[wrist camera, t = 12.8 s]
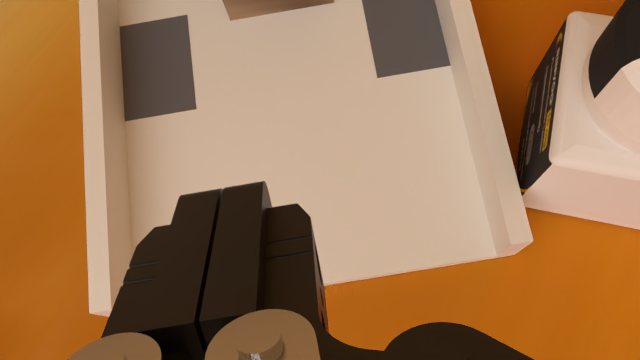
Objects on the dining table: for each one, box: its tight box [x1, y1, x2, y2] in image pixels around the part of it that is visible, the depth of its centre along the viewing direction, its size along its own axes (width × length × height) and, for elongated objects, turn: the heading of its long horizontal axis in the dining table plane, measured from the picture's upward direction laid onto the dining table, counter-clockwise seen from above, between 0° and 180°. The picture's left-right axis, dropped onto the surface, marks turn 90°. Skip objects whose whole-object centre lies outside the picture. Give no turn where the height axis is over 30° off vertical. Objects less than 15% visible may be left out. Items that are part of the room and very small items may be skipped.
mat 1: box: [120, 15, 196, 121], centre depth 34 cm, size 4×6×1 cm, turn 9°
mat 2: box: [362, 0, 451, 78], centre depth 33 cm, size 4×6×1 cm, turn 9°
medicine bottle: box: [516, 0, 640, 230], centre depth 25 cm, size 7×7×12 cm
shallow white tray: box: [79, 0, 533, 317], centre depth 32 cm, size 20×25×4 cm
